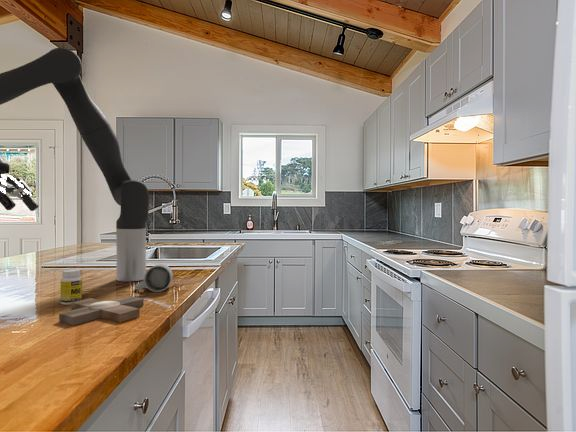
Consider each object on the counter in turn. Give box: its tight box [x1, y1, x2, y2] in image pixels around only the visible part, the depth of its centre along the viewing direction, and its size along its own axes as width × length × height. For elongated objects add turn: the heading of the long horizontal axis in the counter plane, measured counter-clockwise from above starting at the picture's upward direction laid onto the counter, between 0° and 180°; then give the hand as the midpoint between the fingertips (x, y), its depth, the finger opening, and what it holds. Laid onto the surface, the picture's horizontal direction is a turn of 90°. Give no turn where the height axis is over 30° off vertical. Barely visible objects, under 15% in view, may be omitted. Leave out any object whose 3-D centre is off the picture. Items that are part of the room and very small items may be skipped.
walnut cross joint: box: [58, 295, 145, 326], centre depth 88 cm, size 18×18×2 cm
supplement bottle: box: [60, 268, 83, 306], centre depth 97 cm, size 5×5×8 cm
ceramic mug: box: [134, 263, 174, 293], centre depth 113 cm, size 11×8×8 cm
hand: (24, 208), depth 96 cm, fingers open, 8 cm apart
